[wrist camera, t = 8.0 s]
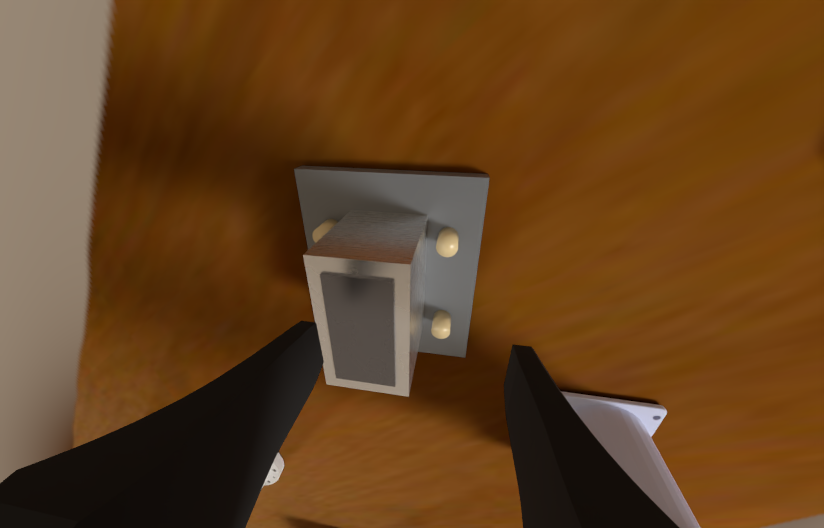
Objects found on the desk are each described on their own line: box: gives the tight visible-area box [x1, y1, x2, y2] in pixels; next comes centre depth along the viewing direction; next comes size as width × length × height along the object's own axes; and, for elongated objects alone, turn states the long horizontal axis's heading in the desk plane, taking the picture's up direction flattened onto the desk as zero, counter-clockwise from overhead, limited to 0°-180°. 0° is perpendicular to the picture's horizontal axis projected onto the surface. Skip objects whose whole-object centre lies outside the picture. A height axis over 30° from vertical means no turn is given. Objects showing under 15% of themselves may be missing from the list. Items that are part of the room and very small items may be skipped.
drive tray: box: [294, 166, 489, 358], centre depth 19 cm, size 13×11×2 cm
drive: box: [303, 210, 428, 397], centre depth 17 cm, size 8×5×6 cm, turn 179°
